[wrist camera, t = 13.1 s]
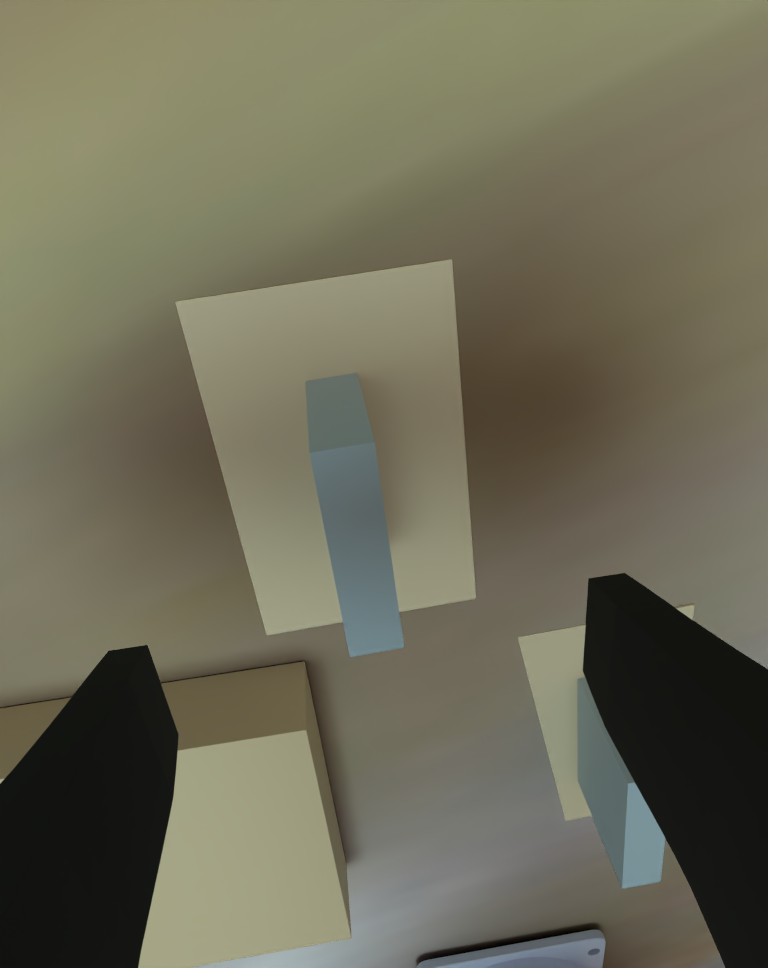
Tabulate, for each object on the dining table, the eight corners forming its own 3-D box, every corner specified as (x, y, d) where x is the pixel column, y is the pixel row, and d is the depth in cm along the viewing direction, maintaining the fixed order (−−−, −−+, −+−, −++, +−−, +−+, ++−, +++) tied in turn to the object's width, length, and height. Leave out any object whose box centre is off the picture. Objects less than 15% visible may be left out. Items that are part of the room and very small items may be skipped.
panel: (346, 864, 24) (351, 938, 22) (-21, 928, 24) (-52, 1010, 21) (304, 661, 20) (305, 730, 17) (-160, 733, 19) (-219, 814, 17)
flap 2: (666, 789, 25) (729, 906, 22) (510, 818, 25) (546, 941, 21) (686, 594, 21) (771, 701, 17) (494, 629, 21) (537, 745, 17)
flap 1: (471, 587, 20) (514, 699, 16) (267, 623, 19) (261, 745, 16) (447, 255, 15) (499, 301, 11) (178, 296, 15) (140, 357, 11)
